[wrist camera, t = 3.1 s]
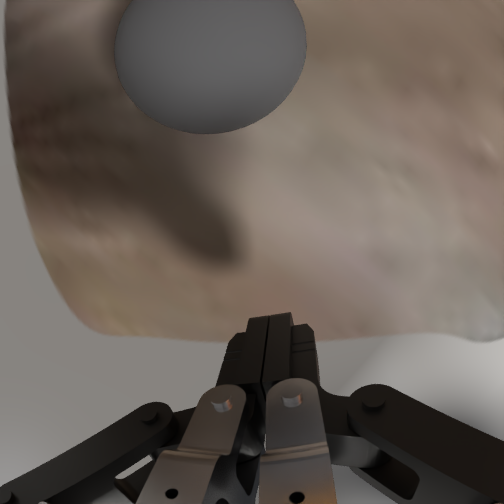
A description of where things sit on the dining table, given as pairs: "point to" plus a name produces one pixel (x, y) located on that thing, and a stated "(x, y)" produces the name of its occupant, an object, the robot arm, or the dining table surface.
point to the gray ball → (209, 60)
